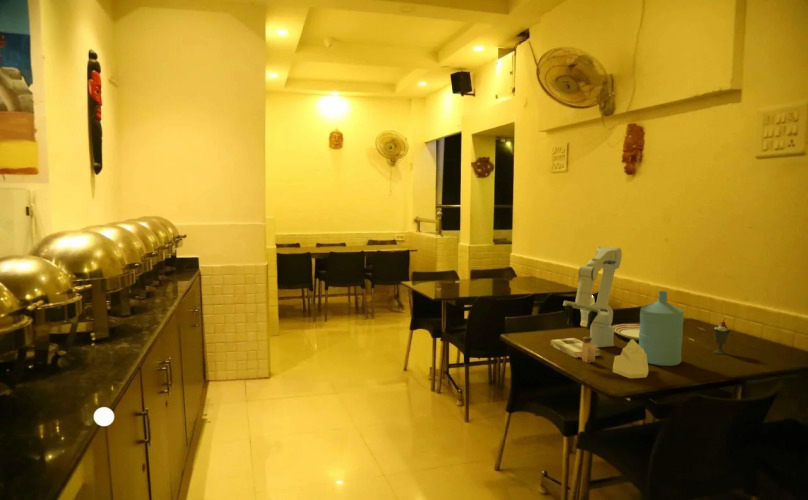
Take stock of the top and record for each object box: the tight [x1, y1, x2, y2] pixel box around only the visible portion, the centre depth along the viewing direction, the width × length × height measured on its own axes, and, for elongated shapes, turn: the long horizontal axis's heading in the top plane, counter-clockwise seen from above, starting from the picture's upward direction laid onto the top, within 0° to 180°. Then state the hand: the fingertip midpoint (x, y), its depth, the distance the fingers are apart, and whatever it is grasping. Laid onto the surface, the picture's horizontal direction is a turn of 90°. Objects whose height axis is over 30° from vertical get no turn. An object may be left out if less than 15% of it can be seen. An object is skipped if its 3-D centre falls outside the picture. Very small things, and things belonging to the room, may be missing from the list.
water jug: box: [638, 290, 685, 367], centre depth 207 cm, size 16×16×28 cm
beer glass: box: [579, 295, 595, 328], centre depth 261 cm, size 7×7×15 cm
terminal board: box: [550, 336, 601, 359], centre depth 221 cm, size 12×18×6 cm, turn 16°
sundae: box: [712, 318, 732, 355], centre depth 217 cm, size 7×7×15 cm
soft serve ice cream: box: [612, 339, 649, 379], centre depth 192 cm, size 12×15×14 cm
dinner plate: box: [612, 323, 640, 342], centre depth 242 cm, size 28×27×3 cm
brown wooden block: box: [581, 343, 596, 364], centre depth 207 cm, size 4×4×7 cm
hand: (578, 327), depth 209 cm, fingers open, 7 cm apart
